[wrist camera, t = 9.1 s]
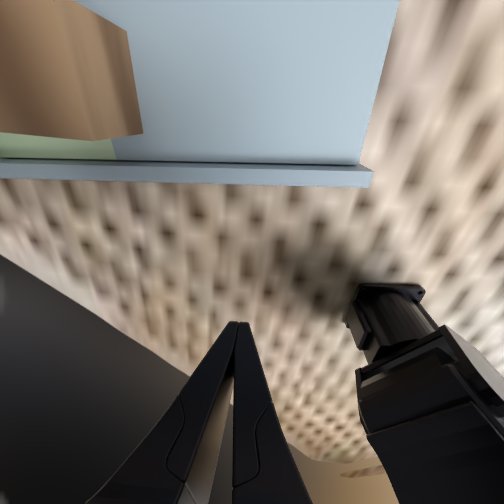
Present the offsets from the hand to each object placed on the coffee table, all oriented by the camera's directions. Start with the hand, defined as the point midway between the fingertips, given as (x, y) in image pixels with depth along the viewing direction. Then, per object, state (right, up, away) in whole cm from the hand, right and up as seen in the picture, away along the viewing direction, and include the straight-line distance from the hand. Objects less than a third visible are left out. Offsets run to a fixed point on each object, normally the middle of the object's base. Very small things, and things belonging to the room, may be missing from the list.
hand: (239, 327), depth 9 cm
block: (-9, +14, +4) cm, 17 cm away
